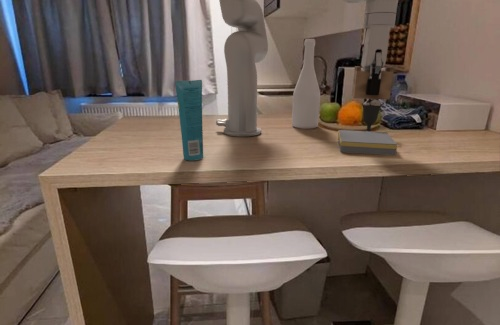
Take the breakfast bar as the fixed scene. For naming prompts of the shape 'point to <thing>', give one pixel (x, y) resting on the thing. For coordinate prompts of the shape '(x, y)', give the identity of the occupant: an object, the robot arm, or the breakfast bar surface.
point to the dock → (366, 142)
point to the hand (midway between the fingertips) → (370, 92)
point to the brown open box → (361, 84)
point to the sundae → (371, 111)
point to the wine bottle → (306, 92)
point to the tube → (190, 118)
